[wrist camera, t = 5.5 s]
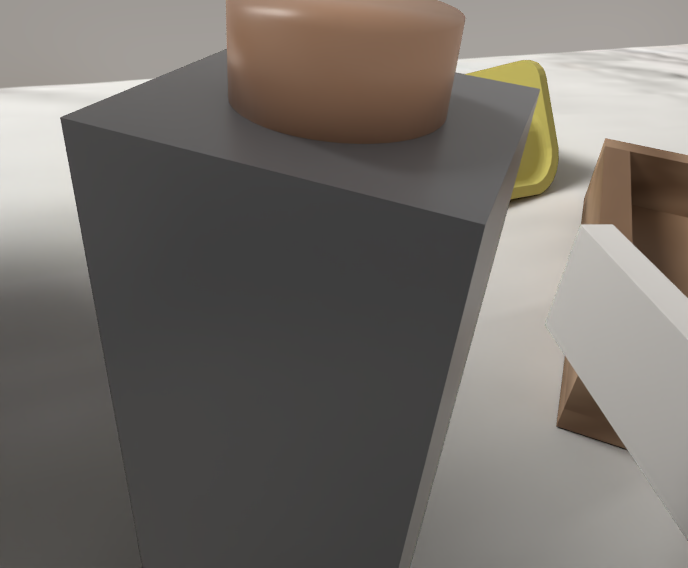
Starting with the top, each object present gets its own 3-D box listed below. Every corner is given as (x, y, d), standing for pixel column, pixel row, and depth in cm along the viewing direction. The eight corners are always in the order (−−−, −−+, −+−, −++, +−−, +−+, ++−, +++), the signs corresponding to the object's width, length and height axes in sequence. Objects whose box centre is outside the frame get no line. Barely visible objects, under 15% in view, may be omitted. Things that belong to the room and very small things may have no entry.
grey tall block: (164, 685, 13) (39, 0, 5) (255, 525, 16) (260, -43, 8) (345, 777, 12) (518, 95, 4) (404, 587, 15) (563, 4, 7)
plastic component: (433, 83, 41) (560, 52, 33) (442, 193, 43) (565, 189, 34) (141, 91, 30) (221, 48, 22) (165, 238, 32) (249, 248, 24)
